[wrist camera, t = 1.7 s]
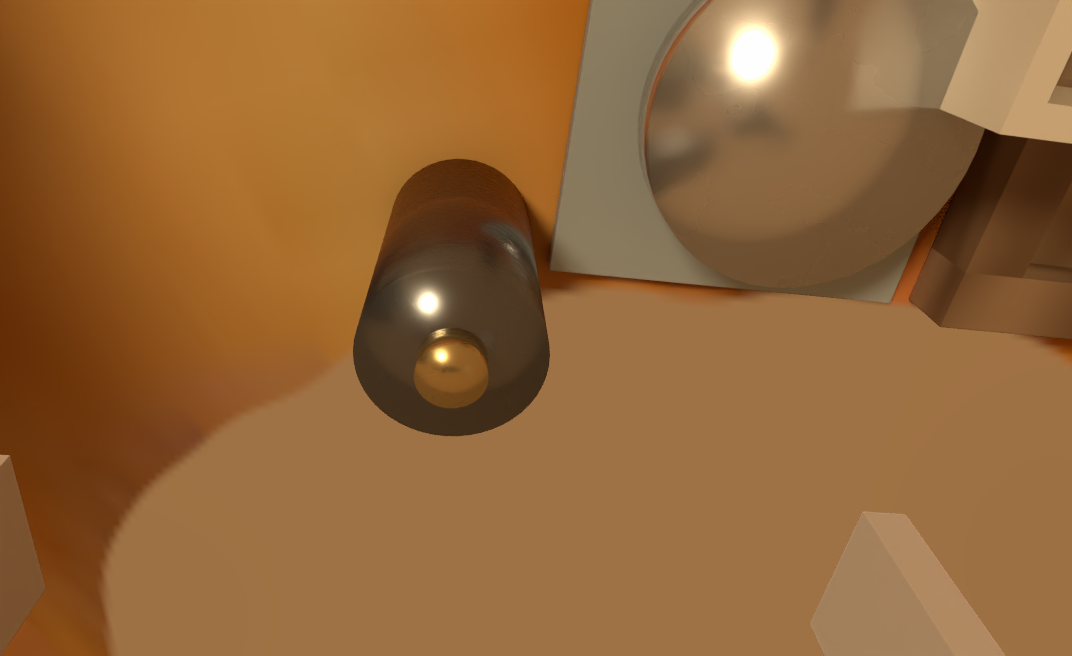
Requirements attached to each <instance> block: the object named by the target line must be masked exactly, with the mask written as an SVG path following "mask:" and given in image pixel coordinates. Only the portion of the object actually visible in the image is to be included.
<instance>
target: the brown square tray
mask: <svg viewBox="0 0 1072 656" xmlns="http://www.w3.org/2000/svg"><path fill="white" fill-rule="evenodd" d="M1056 86H1062V87H1069V88H1072V52H1071V54H1070V56H1069V58H1068V61H1067V63H1066V65H1065V67H1064V69H1063V71H1062V73H1061V75H1060V78H1059V80H1058V82H1057V84H1056ZM909 300H910V301H912V302H913V303H914V304H915V305H916V306H917V307H918V308H919V309H920V310H922V311H923V312H924V313H925V314H926V315H927V316H928V317H929V318H931V319H932V320H933V321H934V322H935V323H936V324H937V325H939V326H940V327H947V328H958V329H969V330H979V331H989V332H1000V333H1011V334H1022V335H1032V336H1043V337H1054V338H1065V339H1072V144H1071V143H1063V142H1055V141H1048V140H1040V139H1033V138H1025V137H1017V136H1010V135H1002V134H998V133H996V132H993V131H991V130H988V129H986V128H985V129H984V133H983V135H982V138H981V141H980V143H979V146H978V149H977V152H976V154H975V156H974V158H973V160H972V162H971V164H970V166H969V168H968V170H967V172H966V174H965V176H964V177H963V179H962V180H961V182H960V183H959V185H958V188H957V190H956V192H955V194H954V197H953V199H952V201H951V204H950V206H949V208H948V211H947V213H946V215H945V217H944V220H943V222H942V224H941V227H940V229H939V231H938V234H937V236H936V238H935V240H934V243H933V245H932V247H931V250H930V252H929V254H928V257H927V259H926V261H925V263H924V266H923V268H922V270H921V273H920V275H919V277H918V280H917V282H916V284H915V286H914V289H913V291H912V293H911V296H910V298H909Z"/></svg>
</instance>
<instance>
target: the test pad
mask: <svg viewBox="0 0 1072 656" xmlns="http://www.w3.org/2000/svg"><path fill="white" fill-rule="evenodd" d="M977 15H978V10H977V8H976V6H975V4H974V2H973V0H693V1H692V2H691V3H690V4H689V5H688V7H687V8H686V9H685V10H684V11H683V12H682V13H681V15H680V16H679V18H678V19H677V20H676V22H675V23H674V25H673V26H672V27H671V29H670V30H669V32H668V33H667V35H666V37H665V38H664V40H663V42H662V44H661V46H660V48H659V50H658V51H657V53H656V55H655V57H654V60H653V62H652V65H651V68H650V70H649V73H648V75H647V78H646V81H645V85H644V89H643V93H642V96H641V101H640V108H639V115H638V136H637V143H638V151H639V159H640V165H641V169H642V173H643V176H644V180H645V183H646V185H647V188H648V190H649V192H650V195H651V197H652V199H653V201H654V203H655V204H656V206H657V208H658V209H659V211H660V213H661V214H662V216H663V218H664V219H665V221H666V222H667V224H668V226H669V227H670V229H671V231H672V232H673V234H674V235H675V236H676V238H677V239H678V240H679V241H680V242H681V244H682V245H683V246H684V247H685V248H686V249H687V250H688V251H689V252H690V253H691V254H692V255H694V256H695V257H696V258H697V259H698V260H699V261H701V262H702V263H704V264H705V265H707V266H708V267H710V268H711V269H713V270H714V271H716V272H718V273H721V274H723V275H725V276H727V277H729V278H731V279H734V280H738V281H741V282H744V283H748V284H752V285H758V286H764V287H777V288H793V287H805V286H811V285H816V284H821V283H826V282H830V281H833V280H836V279H840V278H843V277H846V276H849V275H851V274H853V273H856V272H858V271H860V270H863V269H865V268H867V267H869V266H871V265H873V264H874V263H876V262H878V261H880V260H881V259H883V258H885V257H887V256H888V255H890V254H891V253H892V252H894V251H895V250H897V249H898V248H900V247H901V246H903V245H904V244H905V243H906V242H908V241H909V240H910V239H911V238H912V237H913V236H915V235H916V234H917V233H918V232H919V231H921V230H922V229H923V228H924V227H925V226H926V225H927V224H928V223H929V221H930V220H931V219H932V218H933V217H934V216H935V215H936V214H937V213H938V212H939V211H940V210H941V208H942V207H943V206H944V204H945V203H946V202H947V201H948V199H949V198H950V197H951V196H952V194H953V193H954V191H955V190H956V188H957V187H958V185H959V183H960V182H961V180H962V179H963V177H964V176H965V174H966V172H967V170H968V168H969V166H970V164H971V162H972V160H973V158H974V156H975V154H976V152H977V149H978V146H979V143H980V141H981V138H982V135H983V133H984V129H985V128H984V127H981V126H979V125H977V124H974V123H972V122H969V121H967V120H965V119H962V118H960V117H957V116H955V115H953V114H950V113H948V112H946V111H943V110H941V109H940V107H941V104H942V102H943V99H944V97H945V94H946V92H947V89H948V87H949V84H950V82H951V79H952V77H953V74H954V72H955V69H956V67H957V64H958V62H959V59H960V57H961V54H962V52H963V49H964V47H965V44H966V42H967V39H968V37H969V35H970V32H971V30H972V27H973V25H974V22H975V20H976V17H977Z"/></svg>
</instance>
